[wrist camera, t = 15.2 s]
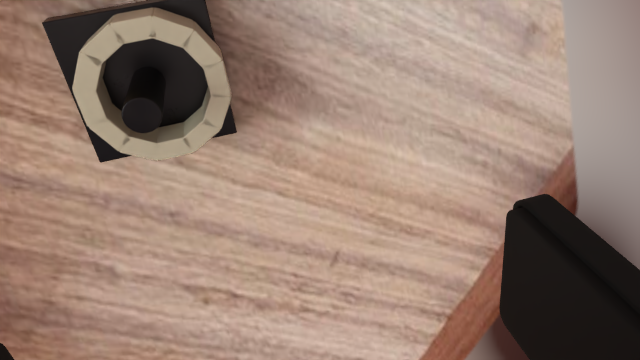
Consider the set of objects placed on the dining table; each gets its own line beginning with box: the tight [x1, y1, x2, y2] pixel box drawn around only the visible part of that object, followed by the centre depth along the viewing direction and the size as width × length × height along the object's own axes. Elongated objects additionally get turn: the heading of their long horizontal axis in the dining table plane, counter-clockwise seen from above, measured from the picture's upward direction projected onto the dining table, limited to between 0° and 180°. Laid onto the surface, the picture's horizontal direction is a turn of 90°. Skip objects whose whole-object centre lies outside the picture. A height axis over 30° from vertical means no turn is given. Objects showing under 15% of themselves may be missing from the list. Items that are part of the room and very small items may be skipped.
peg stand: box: [42, 0, 237, 162], centre depth 28 cm, size 9×9×7 cm
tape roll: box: [72, 7, 232, 161], centre depth 29 cm, size 8×8×2 cm
